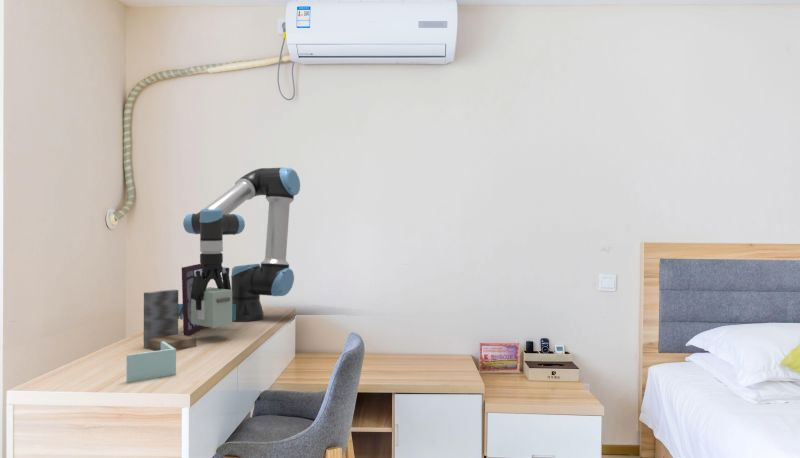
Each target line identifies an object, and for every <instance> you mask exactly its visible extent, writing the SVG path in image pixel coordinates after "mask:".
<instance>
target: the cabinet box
mask: <svg viewBox="0 0 800 458" xmlns="http://www.w3.org/2000/svg"><path fill="white" fill-rule="evenodd" d="M202 300H203V301H204V320H201V319H198V310H196V300H194V299H191V324H195V325H201V326H206V327H205V328H214V329H215V328H221V327H224V326H229V325H230V326H231V325H233V321H232V290H228V289H218V288H217V287H211V286H210V287H209V286H207V288H206V290H205V291H204V296H203V299H202Z"/></svg>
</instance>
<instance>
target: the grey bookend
mask: <svg viewBox="0 0 800 458" xmlns="http://www.w3.org/2000/svg"><path fill="white" fill-rule="evenodd" d="M178 304H179V289H167V290H166V289H165V290H157V291H156V290H155V291H148V292H146V291H145V292H143V348H144V349H148V350H152V351H159V350H161V342H162V341H164V342H166V343H167V344H169V345H170V346H172V347H173V348H175V349H176V352H178V351H181V350H186V349H190V348H196V347H197V337H196V336H195V337H194V336H192V335H190V336H186V335H184V334H182V333H181V334H180V333H179V319H178Z"/></svg>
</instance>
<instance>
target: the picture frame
mask: <svg viewBox="0 0 800 458" xmlns="http://www.w3.org/2000/svg"><path fill="white" fill-rule="evenodd" d="M200 268H201V263H198V264H192V265H187V266H184V267H183V266H182V267H181V292H182V294H181V295H182V304H183V308H182V309H181V311H180V313H179V314H178V317H179V318H180V314H181V312H182V310H183V319H182V325H183V326H182V329H183V335H186V336H192V335H194V334H195V333H197V332H199V331H201V330H204V329H205V327H204V326H201V325H195V324H191V298H190V297H191V290H192V283H193V270H200ZM201 274H202V273H201ZM201 277H202V275H201ZM200 283H201V280H200Z"/></svg>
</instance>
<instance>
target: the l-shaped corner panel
mask: <svg viewBox="0 0 800 458" xmlns="http://www.w3.org/2000/svg"><path fill="white" fill-rule="evenodd" d="M176 374H177V351H176V349H175V348H173V347H172V346H170V345H169V344H167V343H166V342H164V341H162V342H161V350H159V351H156V350H152V351H144V352H138V353H137V352H136V353H130V354H129V353H128V354H126V382H127V383H133V382H137V381H144V380H150V379H156V378H162V377H169V376H175V375H176Z"/></svg>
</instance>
